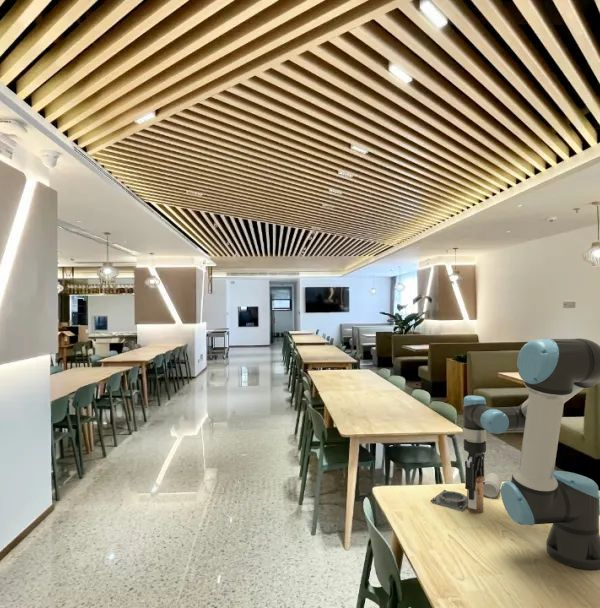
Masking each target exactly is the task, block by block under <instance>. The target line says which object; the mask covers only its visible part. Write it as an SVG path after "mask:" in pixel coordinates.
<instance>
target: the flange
mask: <svg viewBox="0 0 600 608" xmlns="http://www.w3.org/2000/svg"><path fill="white" fill-rule="evenodd" d="M431 502H432V503H431ZM430 503H431V504H434V503H435V504H434V505H437V504H438V506H441V507H444V508H449V509H453V510H455V511H458V512H459V511H460V512H464V511H465V510H466V509H467V495H465V494H462V493H461V492H458V491H452V490H451V491H450V490H446V489H443V490H442V491H441V492H440V493H439V494H437V495H436V496H435V497H433V498H431V499H430Z"/></svg>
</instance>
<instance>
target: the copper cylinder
mask: <svg viewBox="0 0 600 608" xmlns="http://www.w3.org/2000/svg"><path fill="white" fill-rule="evenodd" d="M484 478H485V476H484V477H483V476H482V475H478V474H476V487H475V490H476V498H477V509H472V508H469V507H468V489H466V496H467V508H466V509H467V511H468V512H470V513H473V514H483V513H484V494H483V481H484Z"/></svg>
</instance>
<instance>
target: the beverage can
mask: <svg viewBox="0 0 600 608" xmlns="http://www.w3.org/2000/svg"><path fill="white" fill-rule="evenodd" d="M484 479H485V480H484V481H483V482H485V485H483V496H485V497H486V498H489V499H494V498H496V497H498V495H499V494H500V491H501V487H502V484H503V482H502V479H501V477H500V476H499V475H498V474H496V473H495V472H489V473H488V474H486V475H484Z"/></svg>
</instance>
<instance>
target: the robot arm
mask: <svg viewBox="0 0 600 608" xmlns="http://www.w3.org/2000/svg"><path fill="white" fill-rule="evenodd" d="M516 361H517V362H516V364H517V365H516V366H517V370H518V371H517V372H518V375H519V376H520V379H522V380H523V383H524V386H525V388H526V389H527V390H528V397H527V399H526V400H525V401H524V402H523V403H521V404H520V405H518V406H507V407H502V406H501V407H490V406H488V405H487V402H486V401H487V400H486V398H485V397H484V396H482V395H481V396H480V395H466V396H464V397H463V405H462V409H463V411H462V412H463V414H462V415H463V416H462V417H463V419H462V420H463V428H462V432H463V450H464V451H465V452H466V453H468V456H467V460H465V461H464V467H465V471H464V472H465V476H464V479H465V480H464V481H465V483H464V485H465V487H464V489H465V490H467V489H468V507H469V508H472V509H477V498H476V490H475V487H476V474H478V475H482V476H483V477H484V478H485V455H486V454H485V453H486V451H487V432H489V433H492V434H496V435H498V434H502V433H504V432H506V431H515V430H520V431H521V430H523V436H522V444H521V445H522V446H521V452H520V459H519V466H518V467H516V468H514V469H513V471H512V474H511V480H507V481H504V482H502V484H501V487H500V495H501V500H502V505H503V506H504V509H505V511H506V513H507V514H508V516H509V517H510V519H512V521H513V522H514V523H515V524H517V525H520V526H535V525H546V524H547V525H548V524H552V526H551V527H550V531H549V533H548V536H547V538H546V541H545V550H546V553H547V554H548V555H549V556H550V557H551V558H552V559H554V560H555V561H557V562H559V563H561V564H564V565H565V566H568V567H571V568H576V569H580V570H589V571H595V570H596V571H597V570H600V496H599V495H600V493H599V485H598V484H597V483H596V482H595V481H594V480H593V479H591V478H589V477H587V476H584V475H582V474H578V473H575V472H570V471H565V470H555V465H556V458H557V452H558V444H559V438H560V433H561V426H562V418H563V411H564V405H565V403H566V402H568V401H569V400H570V399H571V398H573V397H574V396H575V395H577V394H578V393H580V392H581V391H583V390H584V389H585V390H588V389H591V388H593V387H595V386H596V385H597V384H599V382H600V344H598V343H597V342H594V341H593V340H590V339H586V338H547V337H545V338H541V339H532V340H529V341H528V342H527V343H525V344H524V345H523V346H522V347H521V348H520V351H519V352H518V355H517V360H516ZM554 470H555V471H554ZM484 480H485V479H484ZM483 485H485V482H483Z"/></svg>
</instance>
